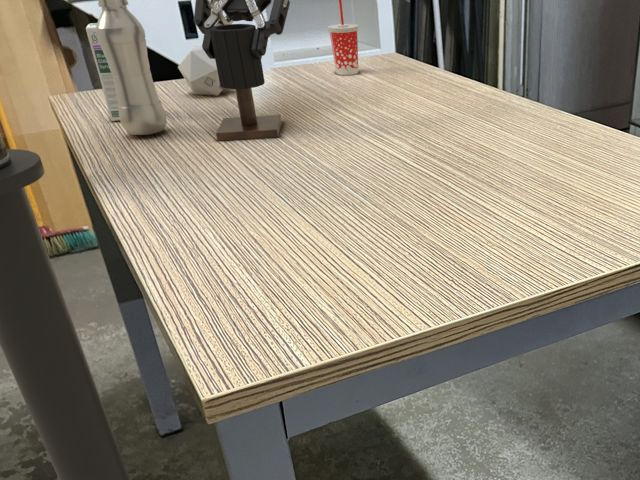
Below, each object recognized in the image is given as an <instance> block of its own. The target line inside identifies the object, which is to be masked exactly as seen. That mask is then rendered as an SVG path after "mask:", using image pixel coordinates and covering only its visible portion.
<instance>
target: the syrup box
mask: <svg viewBox="0 0 640 480" xmlns="http://www.w3.org/2000/svg"><path fill="white" fill-rule="evenodd" d="M96 25H97V22H91V23H88V24H87V26H86V27H85V31H86V35H87V39H88V43H89V46H90V50H91V54H92V57H93V60H94V64H95V66H96V70H97V73H98V77H99V80H100V85H101V87H102V91H103V95H104V98H105V102H106V106H107V110H108V115H109V118H110V120H111V122H119V121H120V117H119V111H118V105H119V103H118V99H117V94H116V89H115V84H114V80H113V77H112V72H111V71H110V68H109V65H108V62H107V60H106V57H105V55H104V53H103V50H102V48H101V46H100V42H99V41H98V38H97V36H96Z"/></svg>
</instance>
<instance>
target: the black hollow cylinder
mask: <svg viewBox="0 0 640 480" xmlns="http://www.w3.org/2000/svg"><path fill="white" fill-rule="evenodd" d="M254 29H257V25H256V24H252V23H251V24H250V23H232V24H230V25H229V24H227V25H219V26H215V25H214V27H211V28H210V29H209V31H210V36H211V41H212V46H213V51H214V56H215V61H216V66H217V71H218V76H219V81H220V86H221V87H223V88H224V89H227V90H235V89H246V88H247V89H248V88H252V89H254V88H257V87H261V86H264V85H265V82H266V81H265V75H264V69H263V63H262V59H255V57H254V56H253V54H252V52H251V46H252V41H253V35H254Z"/></svg>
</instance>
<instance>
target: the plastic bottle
mask: <svg viewBox="0 0 640 480" xmlns="http://www.w3.org/2000/svg"><path fill="white" fill-rule="evenodd" d="M97 5H98V7H99V8H101V12H100V15H99V17H98V19H97V22H96V23H97V25H96V36H97V38H98V41H99V42H100V46H101V48H102V50H103V53H104V55H105V57H106V60H107V62H108V65H109V68H110V71H111V72H112V77H113V80H114V84H115V89H116V94H117V99H118V103H119V105H118V111H119V117H120V120H119V122H120V123H121V125H122V128H123V129H124V131H126V132H127V133H128V134H129V135H133V136H134V135H135V136H149V135H153V134H157V133H159V132H162V131H164V130H165V128H166V127H167V114H166V111H165V107H164V106H163V104H162V101H161V100H160V98H159V94H158V92H157V88H156V86H155V83H154V80H153V76H152V72H151V71H152V70H151V67H150V61H149V57H148V46H147V39H146V31H145V28H144V26H143V25H142V23H141V22H140V21H139V20H138V19H137V17H136V16H135V15H134V14H133V13H132V12H131V11H130V10H129V9H128V7H127V6H128V5H129V1H128V0H97Z"/></svg>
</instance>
